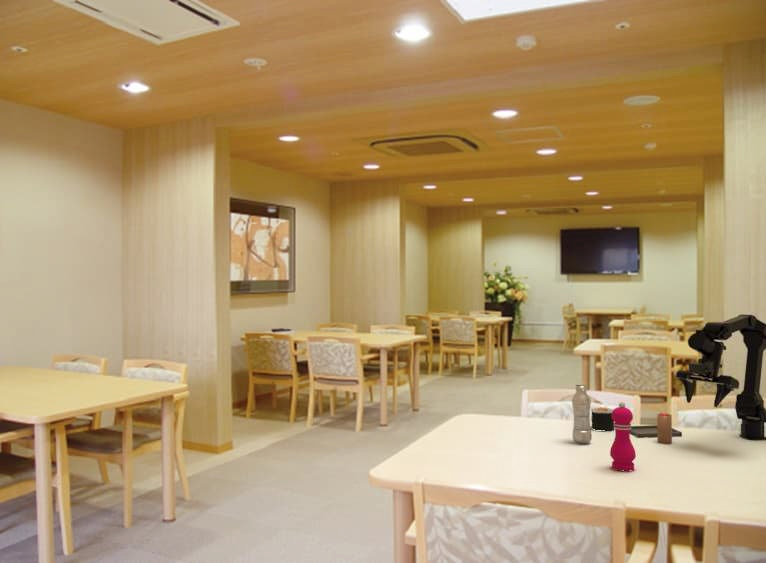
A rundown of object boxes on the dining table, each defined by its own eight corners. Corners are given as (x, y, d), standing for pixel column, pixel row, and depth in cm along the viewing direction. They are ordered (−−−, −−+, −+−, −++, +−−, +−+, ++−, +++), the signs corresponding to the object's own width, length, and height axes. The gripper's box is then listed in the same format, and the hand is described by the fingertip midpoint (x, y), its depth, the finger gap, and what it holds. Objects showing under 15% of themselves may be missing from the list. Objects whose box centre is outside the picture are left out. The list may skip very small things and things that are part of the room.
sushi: (612, 427, 251) (612, 406, 251) (615, 432, 242) (614, 410, 242) (590, 426, 252) (590, 405, 252) (592, 431, 244) (592, 409, 244)
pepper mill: (637, 472, 192) (636, 404, 192) (612, 471, 194) (610, 404, 194) (633, 465, 200) (632, 400, 199) (608, 464, 201) (607, 399, 201)
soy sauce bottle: (667, 440, 229) (667, 411, 229) (674, 443, 224) (674, 414, 224) (655, 441, 228) (654, 412, 228) (661, 444, 224) (661, 414, 224)
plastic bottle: (571, 444, 226) (570, 386, 226) (573, 439, 232) (572, 383, 232) (591, 446, 223) (589, 387, 223) (592, 441, 229) (591, 384, 229)
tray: (665, 428, 246) (665, 424, 246) (681, 436, 234) (681, 432, 234) (623, 430, 245) (623, 426, 245) (638, 437, 233) (638, 433, 233)
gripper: (671, 349, 220) (661, 394, 217) (726, 353, 205) (716, 402, 202) (689, 359, 226) (680, 403, 223) (744, 364, 210) (734, 411, 207)
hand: (701, 404), depth 213 cm, fingers open, 9 cm apart
